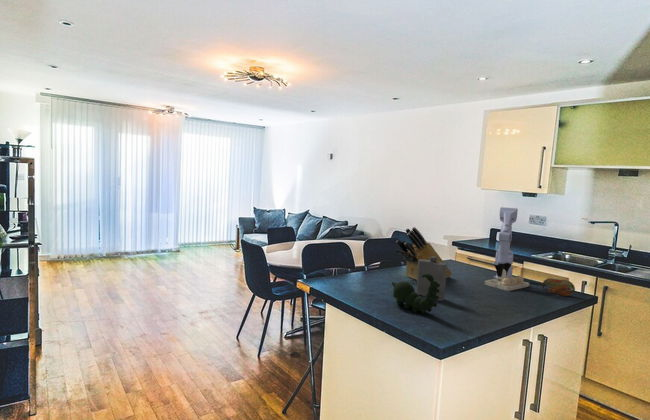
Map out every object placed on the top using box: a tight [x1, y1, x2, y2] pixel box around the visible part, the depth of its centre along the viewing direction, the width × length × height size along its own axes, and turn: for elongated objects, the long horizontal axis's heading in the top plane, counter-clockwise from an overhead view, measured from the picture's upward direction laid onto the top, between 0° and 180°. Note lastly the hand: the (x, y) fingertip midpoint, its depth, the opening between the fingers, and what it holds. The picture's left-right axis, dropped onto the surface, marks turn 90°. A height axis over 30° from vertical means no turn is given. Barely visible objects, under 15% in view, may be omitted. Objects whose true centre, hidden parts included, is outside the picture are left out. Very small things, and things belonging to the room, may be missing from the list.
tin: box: [542, 277, 576, 297], centre depth 209 cm, size 15×3×8 cm, turn 62°
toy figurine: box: [391, 273, 440, 314], centre depth 172 cm, size 9×19×25 cm
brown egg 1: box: [502, 278, 511, 287], centre depth 214 cm, size 4×4×6 cm
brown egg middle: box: [509, 276, 517, 285], centre depth 218 cm, size 4×4×6 cm
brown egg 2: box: [515, 275, 525, 284], centre depth 222 cm, size 4×4×6 cm
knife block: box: [395, 226, 453, 281], centre depth 229 cm, size 11×35×31 cm, turn 115°
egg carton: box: [483, 277, 530, 292], centre depth 221 cm, size 21×14×3 cm
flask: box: [415, 256, 448, 302], centre depth 192 cm, size 15×6×20 cm, turn 45°
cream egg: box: [496, 269, 506, 280], centre depth 223 cm, size 4×4×6 cm
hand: (501, 276), depth 223 cm, fingers closed on cream egg, 4 cm apart
